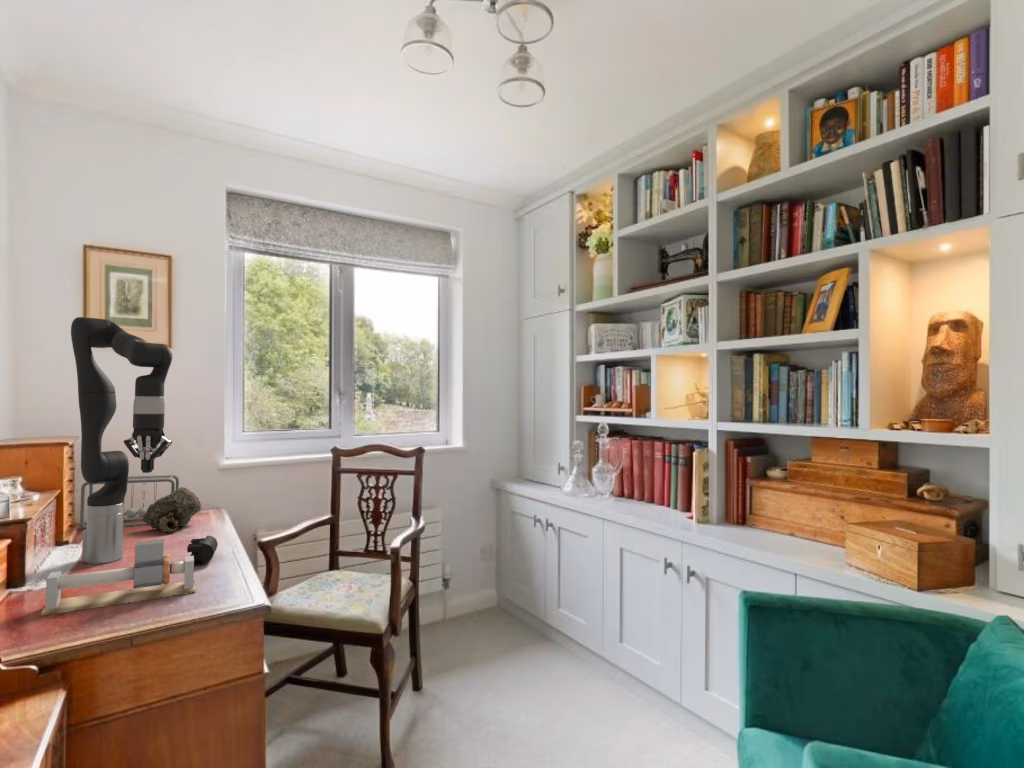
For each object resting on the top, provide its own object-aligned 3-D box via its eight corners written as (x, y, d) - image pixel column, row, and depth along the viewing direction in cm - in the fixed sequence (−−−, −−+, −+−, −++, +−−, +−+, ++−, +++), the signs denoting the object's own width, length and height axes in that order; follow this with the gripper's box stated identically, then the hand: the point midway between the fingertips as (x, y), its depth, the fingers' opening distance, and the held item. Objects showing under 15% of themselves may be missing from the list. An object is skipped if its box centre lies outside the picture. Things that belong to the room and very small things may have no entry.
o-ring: (161, 587, 139) (162, 559, 139) (162, 579, 145) (163, 552, 145) (169, 586, 140) (169, 558, 140) (169, 578, 146) (170, 551, 146)
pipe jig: (45, 612, 128) (46, 578, 128) (49, 605, 132) (50, 572, 133) (193, 591, 144) (193, 560, 144) (192, 585, 148) (193, 555, 148)
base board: (41, 615, 127) (41, 612, 127) (48, 603, 133) (48, 600, 133) (195, 592, 143) (195, 589, 143) (194, 583, 149) (194, 580, 149)
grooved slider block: (133, 588, 136) (134, 546, 137) (135, 581, 142) (136, 540, 142) (161, 584, 140) (163, 543, 140) (162, 577, 145) (163, 537, 145)
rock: (178, 480, 215) (182, 478, 203) (207, 505, 219) (211, 505, 207) (136, 516, 205) (136, 516, 193) (166, 541, 209) (168, 544, 197)
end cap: (213, 565, 165) (214, 542, 165) (186, 567, 163) (187, 544, 163) (217, 555, 174) (217, 534, 175) (191, 558, 172) (192, 536, 172)
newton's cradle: (79, 530, 202) (80, 482, 202) (88, 523, 212) (90, 477, 212) (173, 524, 214) (174, 478, 214) (178, 518, 223) (179, 474, 224)
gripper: (180, 412, 161) (178, 471, 161) (134, 411, 161) (132, 470, 160) (164, 413, 153) (162, 474, 153) (116, 412, 153) (114, 473, 153)
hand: (147, 472), depth 157 cm, fingers closed
